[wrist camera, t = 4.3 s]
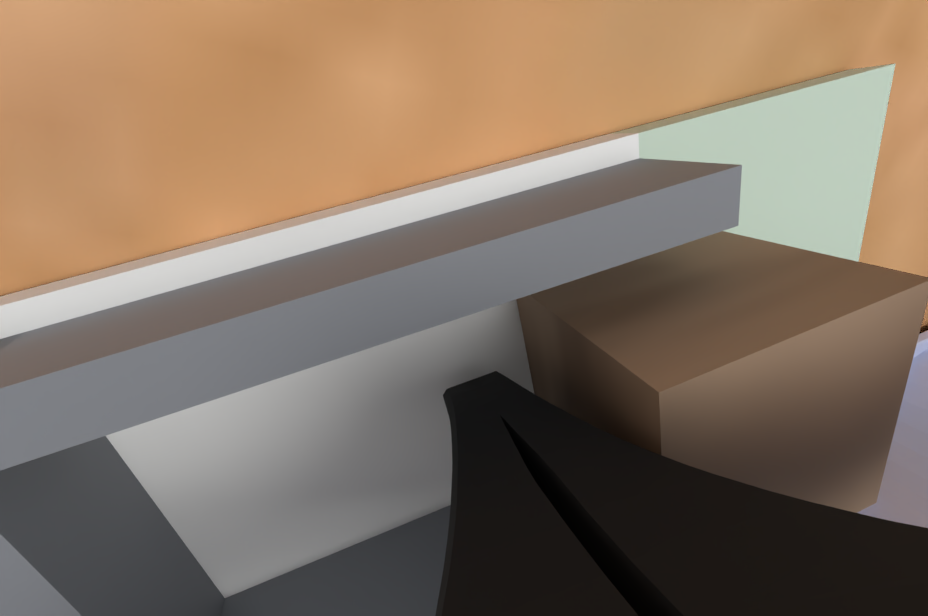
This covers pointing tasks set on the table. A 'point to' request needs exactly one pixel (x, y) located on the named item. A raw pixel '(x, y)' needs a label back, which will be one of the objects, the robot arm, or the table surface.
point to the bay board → (356, 360)
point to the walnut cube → (737, 361)
